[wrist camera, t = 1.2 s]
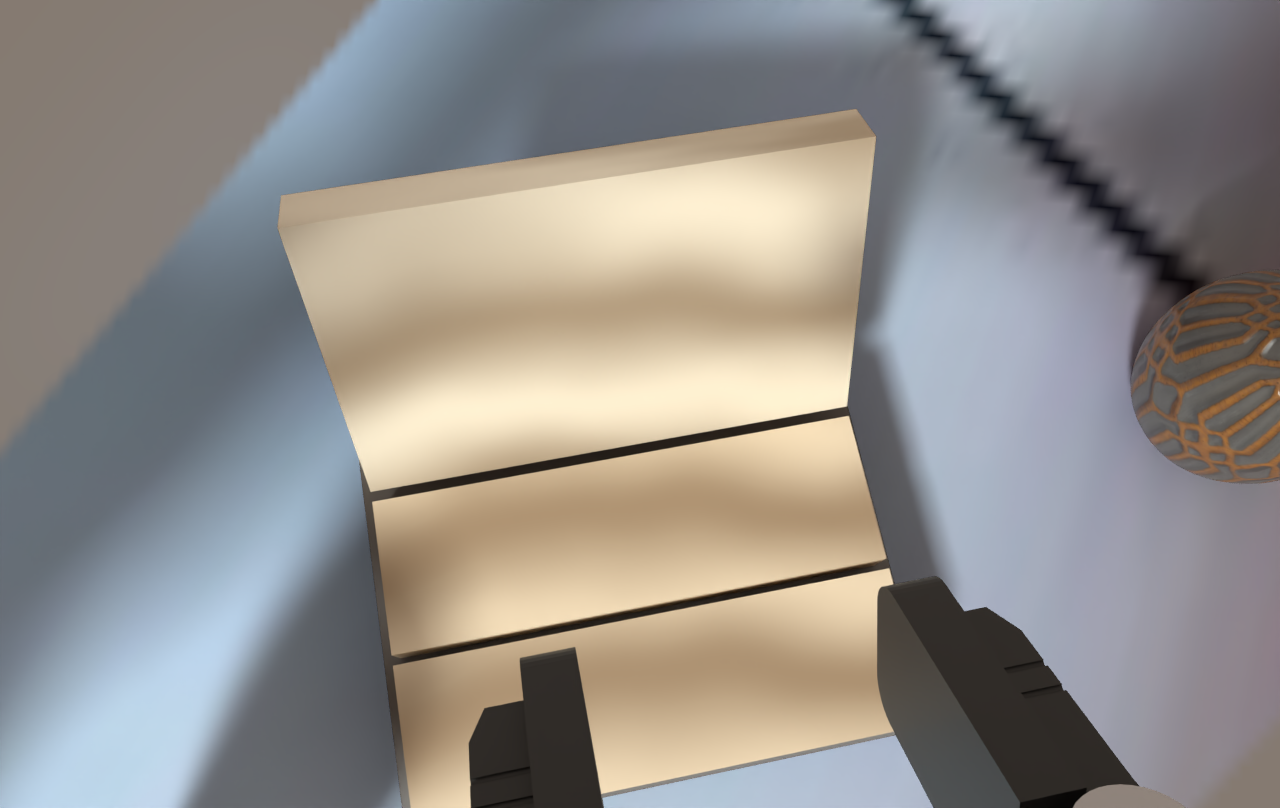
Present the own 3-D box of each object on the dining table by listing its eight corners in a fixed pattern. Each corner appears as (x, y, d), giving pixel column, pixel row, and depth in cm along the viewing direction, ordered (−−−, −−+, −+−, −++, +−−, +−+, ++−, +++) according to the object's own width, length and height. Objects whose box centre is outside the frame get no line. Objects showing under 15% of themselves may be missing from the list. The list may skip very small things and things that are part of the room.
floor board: (904, 727, 35) (948, 727, 30) (421, 829, 33) (396, 845, 29) (767, 194, 40) (788, 131, 36) (349, 260, 39) (319, 202, 34)
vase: (1231, 539, 37) (1418, 486, 29) (1066, 423, 38) (1200, 338, 30) (1318, 395, 39) (1517, 305, 30) (1158, 287, 40) (1309, 171, 31)
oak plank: (831, 375, 34) (846, 406, 33) (370, 456, 33) (370, 491, 32) (856, 109, 28) (876, 136, 27) (281, 195, 26) (277, 228, 25)
